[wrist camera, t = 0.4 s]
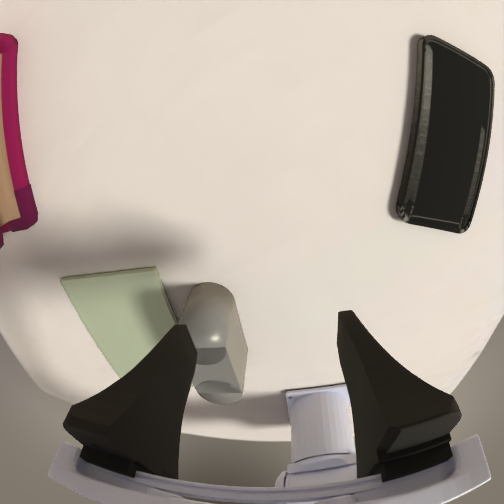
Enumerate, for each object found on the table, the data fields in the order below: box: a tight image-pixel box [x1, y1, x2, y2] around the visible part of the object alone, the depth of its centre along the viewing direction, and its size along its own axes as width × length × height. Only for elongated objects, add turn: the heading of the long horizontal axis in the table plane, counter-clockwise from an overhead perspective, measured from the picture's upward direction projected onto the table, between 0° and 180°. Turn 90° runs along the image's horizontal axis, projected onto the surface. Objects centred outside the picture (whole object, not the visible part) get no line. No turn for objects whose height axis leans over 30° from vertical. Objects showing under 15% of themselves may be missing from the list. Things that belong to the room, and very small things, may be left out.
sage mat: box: [60, 267, 194, 386], centre depth 26 cm, size 16×12×1 cm
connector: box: [178, 282, 248, 404], centre depth 23 cm, size 12×4×6 cm, turn 10°
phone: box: [396, 35, 495, 233], centre depth 15 cm, size 8×1×15 cm
